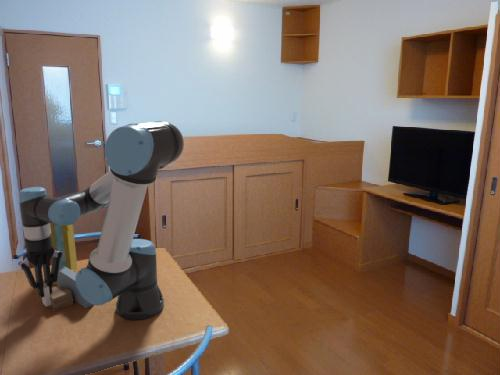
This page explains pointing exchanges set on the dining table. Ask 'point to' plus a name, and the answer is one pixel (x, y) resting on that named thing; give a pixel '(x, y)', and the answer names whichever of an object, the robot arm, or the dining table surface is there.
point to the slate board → (71, 285)
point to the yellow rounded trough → (64, 245)
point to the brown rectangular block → (60, 297)
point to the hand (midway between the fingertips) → (46, 304)
